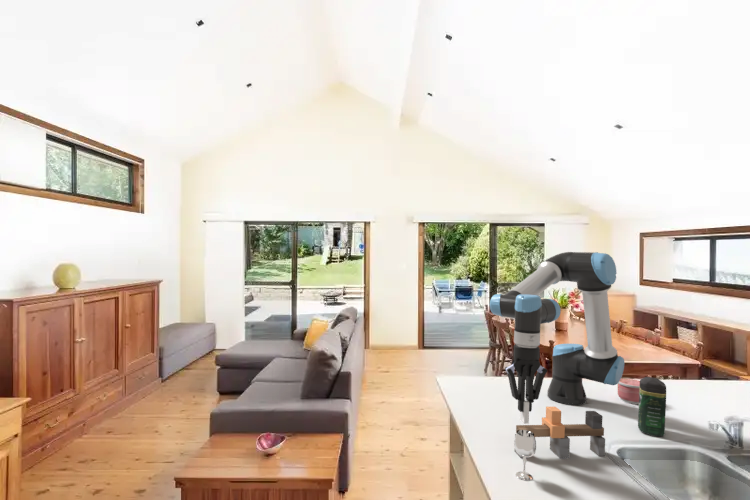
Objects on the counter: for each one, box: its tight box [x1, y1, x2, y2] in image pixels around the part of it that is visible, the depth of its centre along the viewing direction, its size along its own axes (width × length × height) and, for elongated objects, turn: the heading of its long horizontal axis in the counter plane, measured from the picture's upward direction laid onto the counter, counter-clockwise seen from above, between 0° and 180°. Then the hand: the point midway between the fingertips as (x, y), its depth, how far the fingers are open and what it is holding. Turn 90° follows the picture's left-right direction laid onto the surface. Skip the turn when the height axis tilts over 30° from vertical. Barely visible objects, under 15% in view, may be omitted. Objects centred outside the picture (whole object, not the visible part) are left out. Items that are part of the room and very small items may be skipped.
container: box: [617, 377, 640, 405], centre depth 179 cm, size 10×10×8 cm
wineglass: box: [513, 430, 537, 482], centre depth 117 cm, size 6×6×12 cm
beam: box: [514, 410, 606, 459], centre depth 131 cm, size 6×27×12 cm, turn 96°
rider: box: [541, 406, 565, 438], centre depth 130 cm, size 6×4×8 cm, turn 6°
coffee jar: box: [637, 376, 667, 437], centre depth 149 cm, size 10×8×19 cm
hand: (524, 421), depth 129 cm, fingers closed
